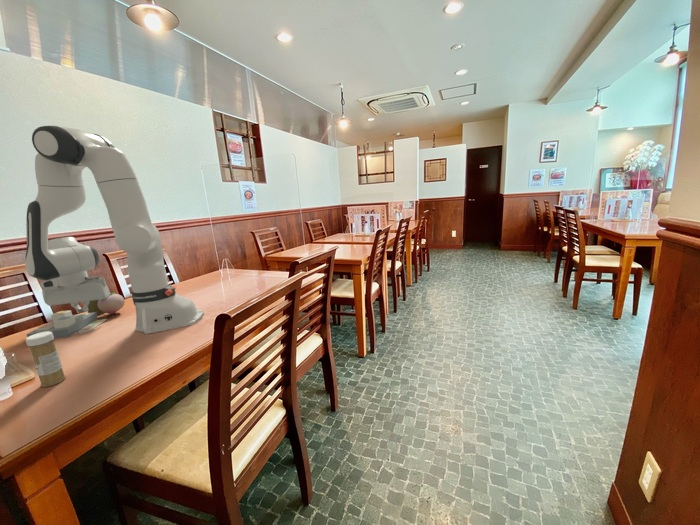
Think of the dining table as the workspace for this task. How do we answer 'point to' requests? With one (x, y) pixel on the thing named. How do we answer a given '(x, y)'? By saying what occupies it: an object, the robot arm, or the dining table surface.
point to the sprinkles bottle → (46, 358)
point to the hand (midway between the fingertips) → (83, 312)
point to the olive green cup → (94, 307)
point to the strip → (91, 326)
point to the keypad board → (69, 330)
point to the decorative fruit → (111, 303)
